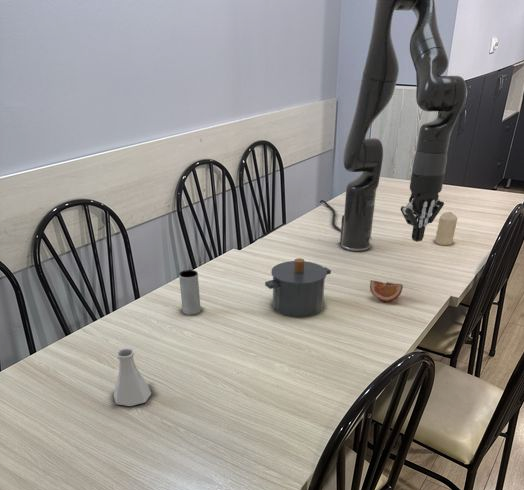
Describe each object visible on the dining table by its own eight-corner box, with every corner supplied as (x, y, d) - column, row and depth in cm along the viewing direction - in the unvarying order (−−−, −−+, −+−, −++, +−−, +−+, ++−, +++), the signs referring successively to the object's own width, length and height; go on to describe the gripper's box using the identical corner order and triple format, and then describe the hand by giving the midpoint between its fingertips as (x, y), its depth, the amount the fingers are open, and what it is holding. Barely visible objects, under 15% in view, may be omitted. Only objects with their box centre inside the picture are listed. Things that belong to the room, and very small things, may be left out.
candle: (453, 245, 167) (459, 216, 161) (435, 244, 168) (441, 215, 162) (451, 240, 171) (457, 211, 166) (434, 239, 172) (439, 210, 167)
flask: (116, 385, 101) (108, 343, 96) (153, 383, 101) (147, 341, 96) (110, 408, 95) (101, 364, 89) (149, 406, 95) (142, 362, 90)
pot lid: (261, 271, 128) (261, 256, 126) (306, 261, 134) (306, 246, 132) (290, 291, 118) (291, 275, 116) (337, 279, 124) (339, 264, 122)
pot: (255, 303, 131) (254, 271, 127) (312, 288, 139) (314, 257, 134) (280, 324, 122) (281, 290, 117) (340, 307, 130) (343, 274, 125)
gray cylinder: (187, 316, 125) (183, 278, 120) (179, 309, 129) (176, 272, 123) (203, 312, 127) (200, 274, 122) (195, 305, 131) (192, 268, 125)
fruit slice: (365, 301, 132) (367, 284, 130) (371, 291, 138) (373, 274, 135) (397, 307, 130) (400, 289, 127) (402, 296, 135) (405, 279, 132)
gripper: (436, 164, 126) (424, 232, 135) (396, 170, 120) (387, 240, 129) (460, 170, 120) (446, 240, 129) (419, 177, 115) (408, 249, 124)
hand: (416, 240), depth 129 cm, fingers closed
